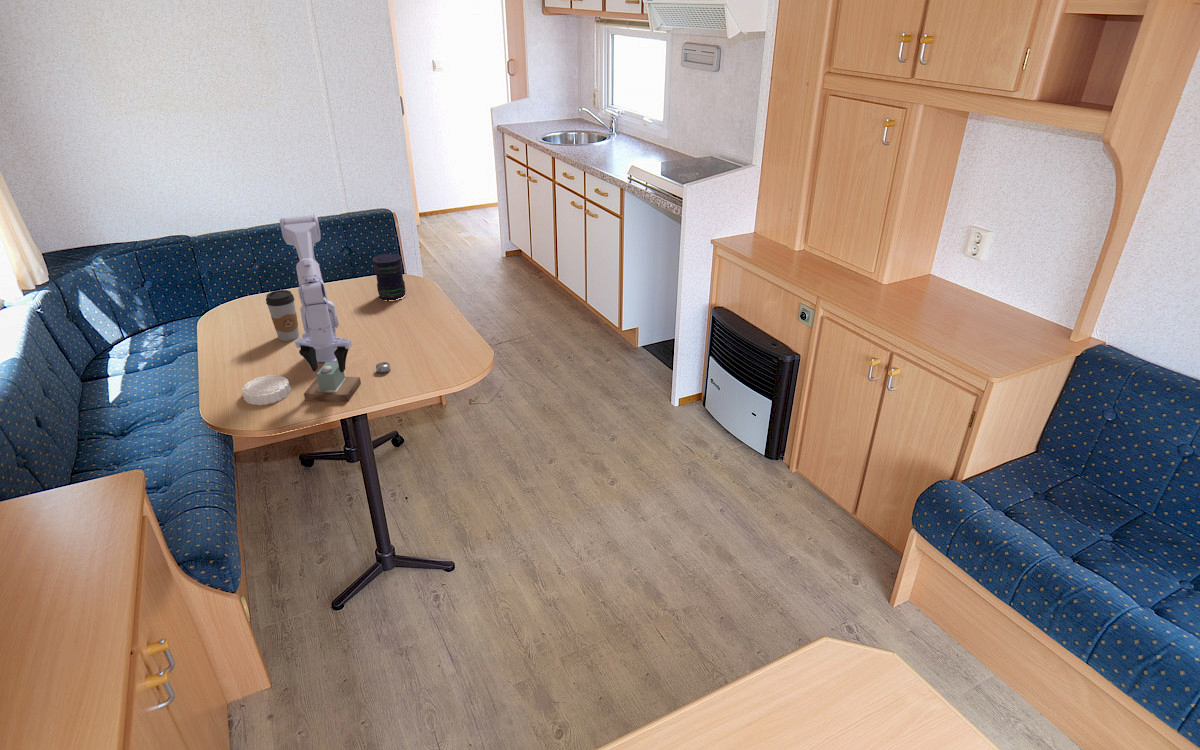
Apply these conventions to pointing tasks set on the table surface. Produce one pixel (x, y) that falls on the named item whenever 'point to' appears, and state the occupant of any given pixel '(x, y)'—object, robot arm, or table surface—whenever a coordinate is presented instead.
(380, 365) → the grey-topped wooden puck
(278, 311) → the coffee cup
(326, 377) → the block
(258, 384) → the mooncake
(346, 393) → the stand
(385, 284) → the storage jar
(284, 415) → the table surface
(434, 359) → the table surface
